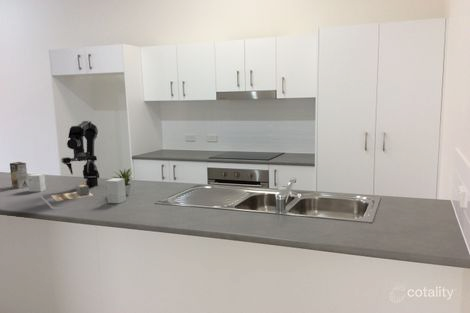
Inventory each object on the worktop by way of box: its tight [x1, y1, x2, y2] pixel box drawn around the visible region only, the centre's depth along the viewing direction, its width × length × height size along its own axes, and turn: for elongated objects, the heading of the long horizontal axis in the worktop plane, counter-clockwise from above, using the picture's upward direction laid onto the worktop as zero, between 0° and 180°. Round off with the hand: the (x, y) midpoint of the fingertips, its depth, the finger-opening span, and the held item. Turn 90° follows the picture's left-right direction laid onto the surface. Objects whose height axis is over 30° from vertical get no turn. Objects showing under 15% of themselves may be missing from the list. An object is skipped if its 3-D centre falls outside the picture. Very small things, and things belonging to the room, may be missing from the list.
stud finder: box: [75, 183, 90, 196], centre depth 230 cm, size 5×9×5 cm, turn 37°
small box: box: [27, 173, 47, 193], centre depth 244 cm, size 8×6×10 cm
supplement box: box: [105, 177, 127, 204], centre depth 215 cm, size 7×7×13 cm
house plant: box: [112, 167, 133, 197], centre depth 231 cm, size 14×14×16 cm
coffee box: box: [9, 161, 29, 189], centre depth 255 cm, size 9×6×16 cm
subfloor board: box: [51, 191, 94, 202], centre depth 227 cm, size 20×16×1 cm
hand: (80, 173), depth 228 cm, fingers open, 9 cm apart
